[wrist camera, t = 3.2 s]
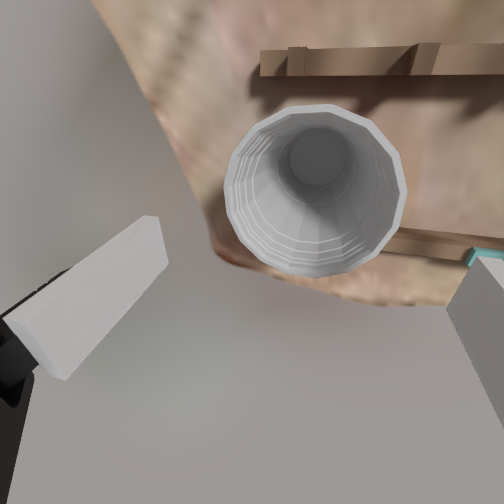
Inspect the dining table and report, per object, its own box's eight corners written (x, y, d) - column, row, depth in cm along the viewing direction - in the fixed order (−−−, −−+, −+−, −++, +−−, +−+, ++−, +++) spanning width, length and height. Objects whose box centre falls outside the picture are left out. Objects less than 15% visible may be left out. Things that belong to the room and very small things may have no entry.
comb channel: (263, 225, 31) (254, 245, 27) (266, 52, 21) (253, 47, 18) (588, 263, 24) (632, 296, 21) (793, 37, 15) (936, 25, 11)
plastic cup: (302, 62, 21) (277, 52, 12) (406, 137, 22) (460, 185, 13) (242, 172, 28) (194, 224, 18) (324, 226, 29) (320, 302, 19)
